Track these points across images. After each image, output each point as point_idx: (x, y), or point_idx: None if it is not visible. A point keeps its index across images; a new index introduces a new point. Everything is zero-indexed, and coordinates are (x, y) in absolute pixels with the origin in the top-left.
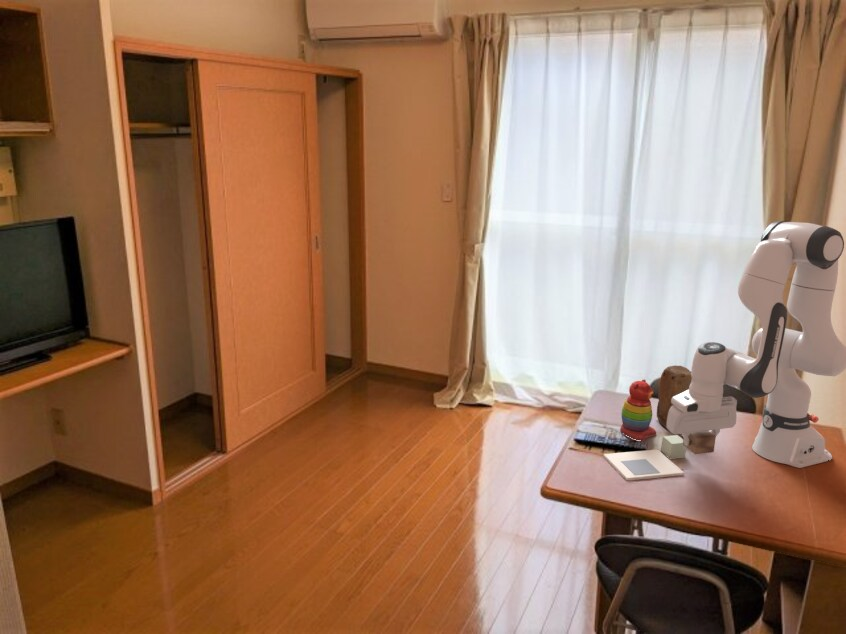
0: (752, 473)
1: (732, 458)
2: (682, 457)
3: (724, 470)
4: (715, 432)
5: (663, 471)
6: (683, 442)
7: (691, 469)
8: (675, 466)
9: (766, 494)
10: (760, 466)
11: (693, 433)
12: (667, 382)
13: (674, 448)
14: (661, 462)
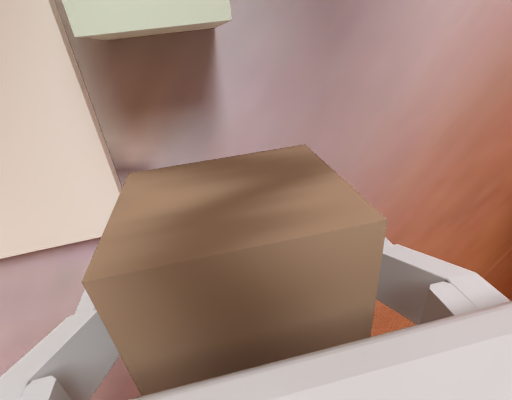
0: (428, 190)
1: (453, 60)
2: (199, 29)
3: (342, 173)
4: (419, 315)
5: (11, 229)
6: None
7: None
8: (101, 174)
9: None
10: (497, 137)
11: (172, 365)
12: None
13: (118, 34)
14: (15, 128)
